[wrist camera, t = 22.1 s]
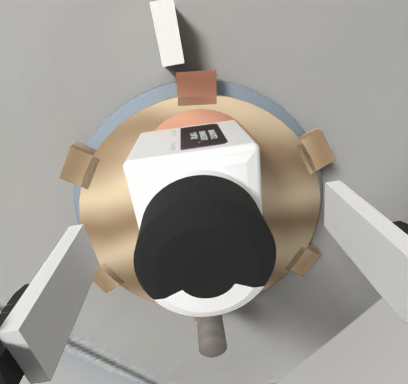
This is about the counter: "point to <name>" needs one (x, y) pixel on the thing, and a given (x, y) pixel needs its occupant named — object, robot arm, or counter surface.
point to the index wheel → (270, 186)
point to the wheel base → (170, 56)
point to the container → (199, 218)
